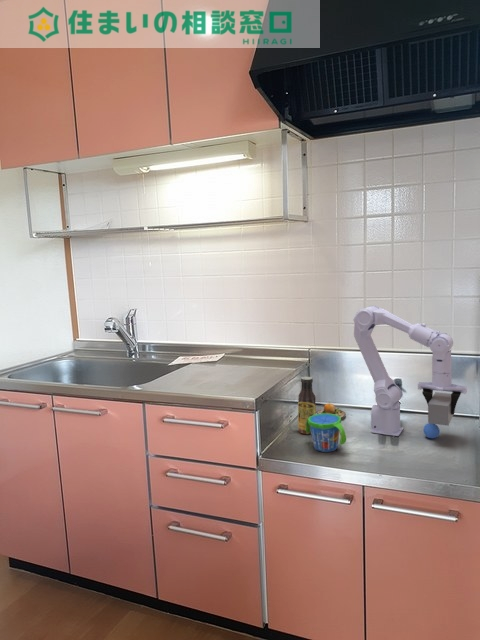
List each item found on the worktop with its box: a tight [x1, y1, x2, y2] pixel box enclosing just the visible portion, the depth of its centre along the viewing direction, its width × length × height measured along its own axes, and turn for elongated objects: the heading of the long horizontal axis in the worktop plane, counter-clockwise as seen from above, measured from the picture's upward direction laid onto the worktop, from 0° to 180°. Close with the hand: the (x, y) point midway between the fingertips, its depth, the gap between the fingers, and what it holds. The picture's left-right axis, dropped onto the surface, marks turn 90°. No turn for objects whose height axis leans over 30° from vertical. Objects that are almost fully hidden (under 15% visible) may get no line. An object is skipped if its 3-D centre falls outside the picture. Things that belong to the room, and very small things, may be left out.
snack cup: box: [305, 413, 347, 453], centre depth 160 cm, size 16×10×10 cm
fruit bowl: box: [316, 401, 347, 421], centre depth 189 cm, size 12×12×8 cm
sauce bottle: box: [297, 376, 317, 435], centre depth 174 cm, size 7×6×20 cm
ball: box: [423, 422, 440, 440], centre depth 163 cm, size 5×5×5 cm
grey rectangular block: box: [427, 391, 454, 427], centre depth 160 cm, size 6×12×6 cm, turn 149°
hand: (441, 412), depth 160 cm, fingers closed on grey rectangular block, 6 cm apart
